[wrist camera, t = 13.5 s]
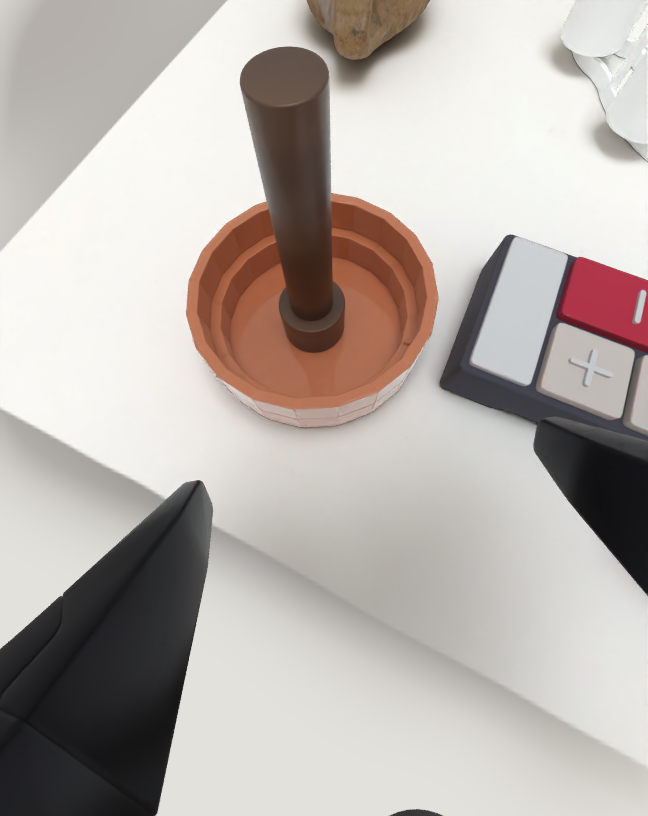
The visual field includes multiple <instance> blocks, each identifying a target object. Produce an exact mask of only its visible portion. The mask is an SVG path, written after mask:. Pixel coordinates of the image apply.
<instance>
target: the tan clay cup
mask: <svg viewBox="0 0 648 816" xmlns="http://www.w3.org/2000/svg"><path fill="white" fill-rule="evenodd" d="M429 1H430V0H307V2H308V5H309V7H310V9H311V11H312V13H313V14H314V16H315V17H316V19H317V21H318V22H319V23H320V24H321V26H322V27H323V28H324V29H326V30H327V31H328V32H330V33H332V34H333V36H334V44H335V48H336V50H337V52H338V53H339V54H340V55H341V56H343V57H345V58H347V59H352V60H355V59H363V58H366V57H368V56H369V55H370V54H371V53H372V52H373V51H374V50H375V49H376V48H378V47H379V46H380V45H381V44H383V42H386V41H388V40H389V39H391V38H392V37H393V36H395V35H397V34H398V33H400V32H401V31H403V30H404V29H405V28H407V27H408V26H409V25H410V24H411V23H412V22H413V21H415V20H416V19H417V18H418V17H419V15H420V14H421V13H422V12H423V10H424V9H425V8H426V6H427V4H428V2H429Z"/></svg>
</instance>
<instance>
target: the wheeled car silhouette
mask: <svg viewBox="0 0 648 816" xmlns="http://www.w3.org/2000/svg"><path fill="white" fill-rule="evenodd" d="M647 5H648V0H575V2H574V4H573V6H572V9H571V11H570V13H569V15H568V17H567V19H566V21H565V23H564V26H563V28H562V30H561V34H560V37H561V40H562V42H563V43H564V45H565V46H566V47H567V48H568V49H570V50H572V53H573V56H574V59H575V61H576V63H577V64H578V66H579V67H580V68H581V70H582V71H583V72H584V73H585V74H586V75H587V76H589V77H590V78H591V79H592V81H593V82H594V84H595V85H596V87H597V89H598V93H599V97H600V100H601V102H602V105H603V107H604V110H605V112H606V119H607V122H608V125H609V126H610V127H611V128H612V130H613V131H614V132H615V133H617V134H618V135H620V136H621V137H622V138H625V139H626V140H627V141H628V142H629V143H630V144H631V145H632V146H633V148H634V149H635V150H636V151H637V152H638V153H640V155H641V156H642V157H643V158H644V159H645V160H647V161H648V24H647V26H646V27H645V29H644V31H643V32H642V34H641V35H640V37H639V38H638V40H635V39H631V38H629V37H628V36H629V34H630V33H631V31H632V30H633V28H634V26H635V25H636V23H637V22H638V20H639V18H640V17H641V15H642V13H643V12H644V10H645V9H646V7H647ZM612 54H616V55H617V56H620V57H623V58H625V60H624V62H623V63H622V65H621V66H620V68H619V69H618V71H617V72H616V74H615V75H614V77H613V76H612V74H611V72H610V70H609V69H608V67H607V66H606V64H605V63H604V62H603V61H602V60H601V59H599V58H598V57H604V56H608V55H612ZM631 67H632V68H633V70H634V71H633V72H632V74H631V75H630V77H629V78H628V80H627V81H626V83H625V84H624V86H623V87H622V88H621V90H620V91H619V93H618V91H617V87H618V86H619V84H620V83H621V82H622V80H623V79H624V77H625V76H626V74H627V73H628V71H629V70H630V68H631Z"/></svg>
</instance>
